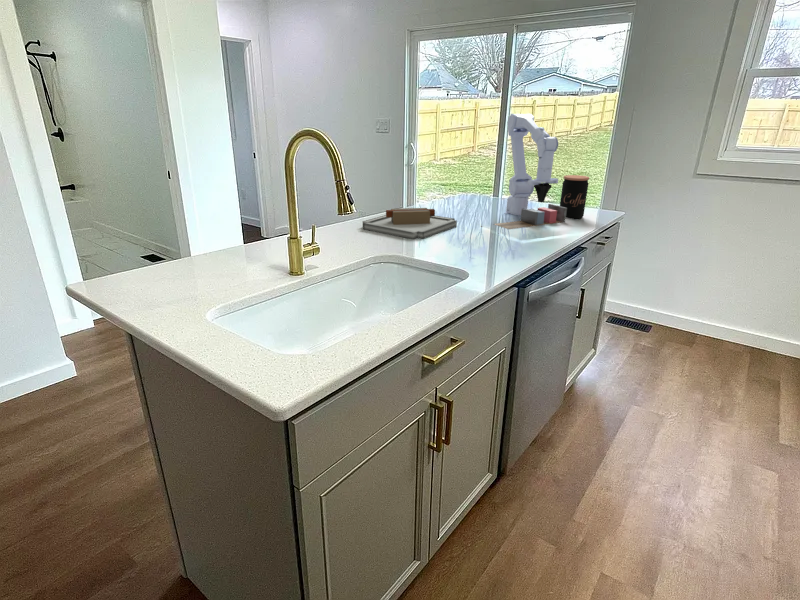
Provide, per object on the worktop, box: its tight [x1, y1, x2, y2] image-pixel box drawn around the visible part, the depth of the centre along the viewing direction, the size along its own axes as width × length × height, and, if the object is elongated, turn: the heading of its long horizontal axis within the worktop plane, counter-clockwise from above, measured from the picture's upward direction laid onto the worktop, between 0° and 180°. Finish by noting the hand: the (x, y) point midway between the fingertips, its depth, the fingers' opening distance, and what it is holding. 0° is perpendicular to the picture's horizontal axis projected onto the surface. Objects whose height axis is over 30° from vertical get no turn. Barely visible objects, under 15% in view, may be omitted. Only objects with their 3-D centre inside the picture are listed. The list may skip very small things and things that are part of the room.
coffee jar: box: [559, 174, 590, 221], centre depth 207 cm, size 11×11×18 cm
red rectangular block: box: [537, 206, 557, 224], centre depth 198 cm, size 8×4×5 cm, turn 25°
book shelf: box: [494, 203, 567, 230], centre depth 194 cm, size 10×30×7 cm, turn 116°
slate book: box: [527, 208, 545, 226], centre depth 195 cm, size 8×4×5 cm, turn 26°
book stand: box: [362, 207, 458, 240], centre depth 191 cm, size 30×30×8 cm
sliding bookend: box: [520, 208, 538, 225], centre depth 194 cm, size 9×1×5 cm, turn 26°
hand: (540, 202), depth 194 cm, fingers closed
